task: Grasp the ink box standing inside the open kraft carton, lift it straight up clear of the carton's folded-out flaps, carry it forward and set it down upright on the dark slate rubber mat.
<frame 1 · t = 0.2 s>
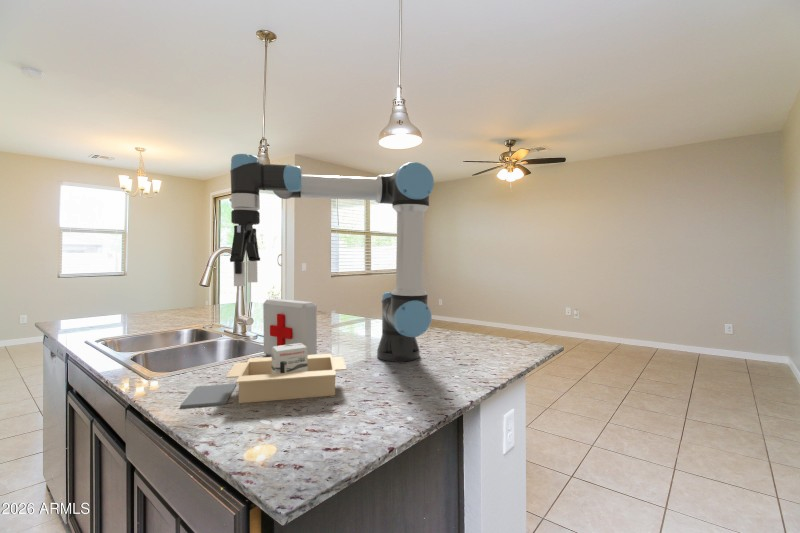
hand: (246, 284, 108), 28 cm above the worktop, fingers open, 13 cm apart
bevelled white case: (288, 358, 131), on the worktop
ink box: (289, 390, 101), resting in carton
mat: (210, 396, 96), on the worktop
carton: (289, 389, 101), on the worktop
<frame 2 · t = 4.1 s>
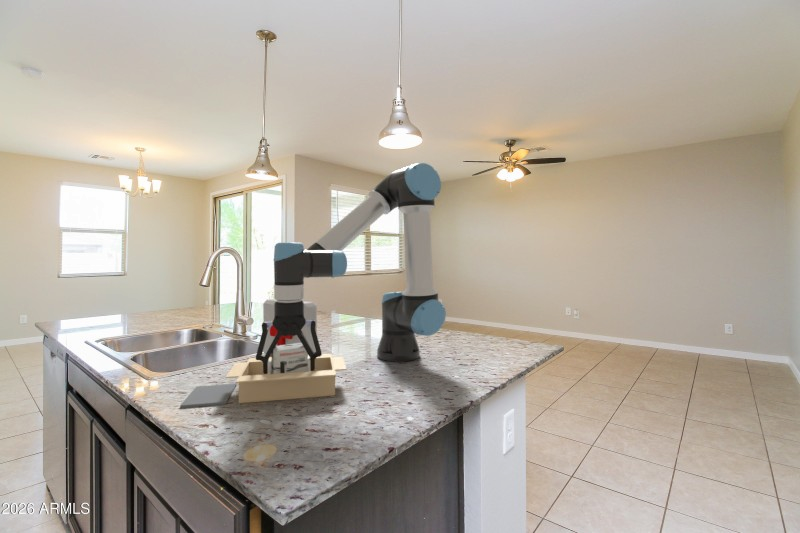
hand: (289, 383, 101), 2 cm above the worktop, fingers closed on ink box, 9 cm apart
ink box: (289, 390, 101), resting in carton, touching gripper
everything else where it was.
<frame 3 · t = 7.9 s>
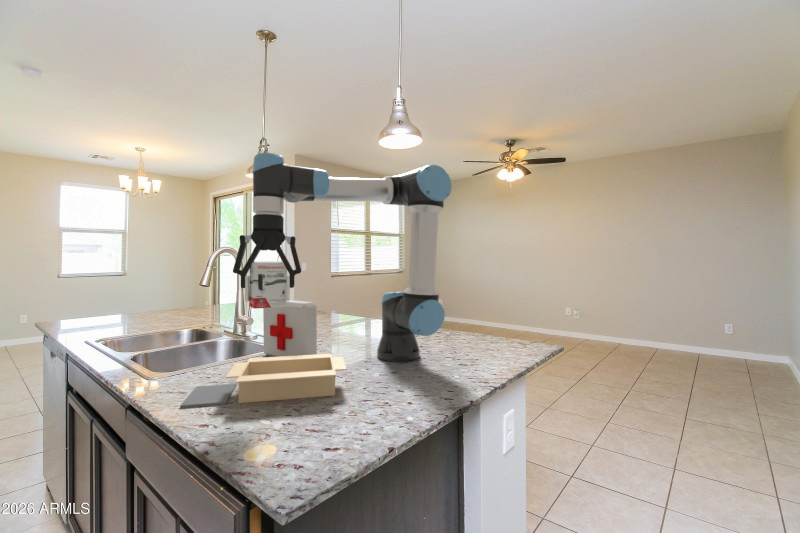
hand: (268, 300, 98), 24 cm above the worktop, fingers closed on ink box, 9 cm apart
ink box: (268, 307, 98), point 22 cm above the worktop, touching gripper
everything else where it was.
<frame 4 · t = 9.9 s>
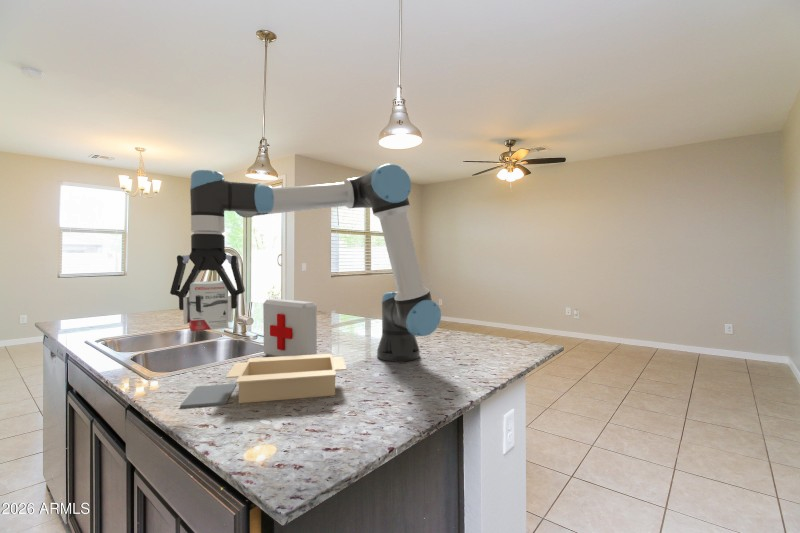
hand: (209, 322, 95), 19 cm above the worktop, fingers closed on ink box, 9 cm apart
ink box: (209, 329, 95), point 17 cm above the worktop, touching gripper
everything else where it was.
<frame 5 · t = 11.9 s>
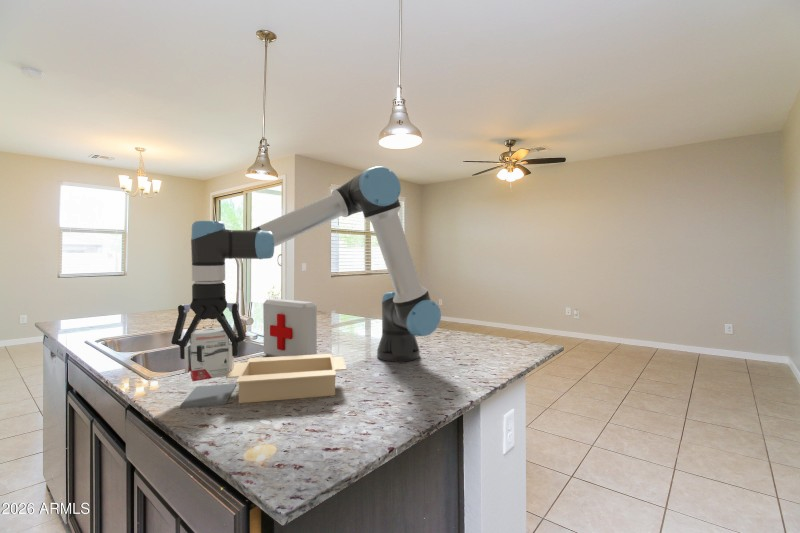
hand: (210, 369, 96), 7 cm above the worktop, fingers closed on ink box, 9 cm apart
ink box: (210, 376, 96), point 5 cm above the worktop, touching gripper
everything else where it was.
when the fingers open (7 cm above the worktop, at t = 13.0 s): ink box stays where it is, resting on mat.
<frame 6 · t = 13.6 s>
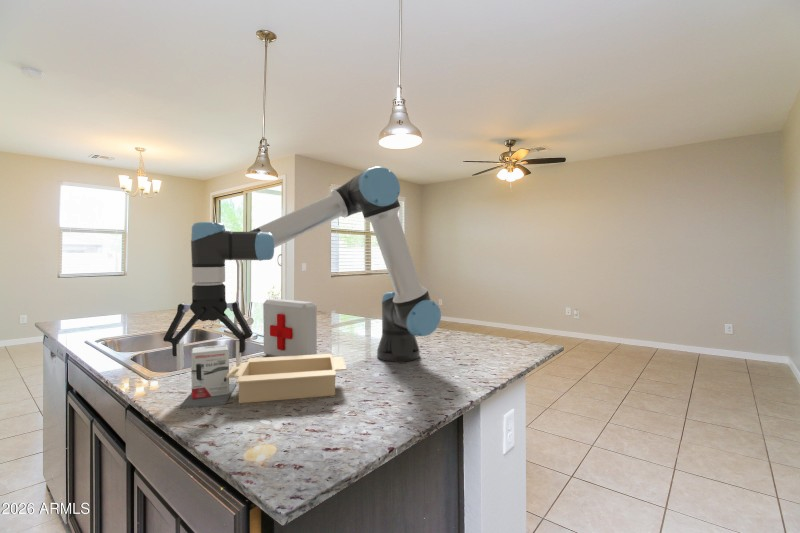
hand: (210, 366, 96), 8 cm above the worktop, fingers open, 13 cm apart
ink box: (210, 394, 96), resting on mat
everything else where it was.
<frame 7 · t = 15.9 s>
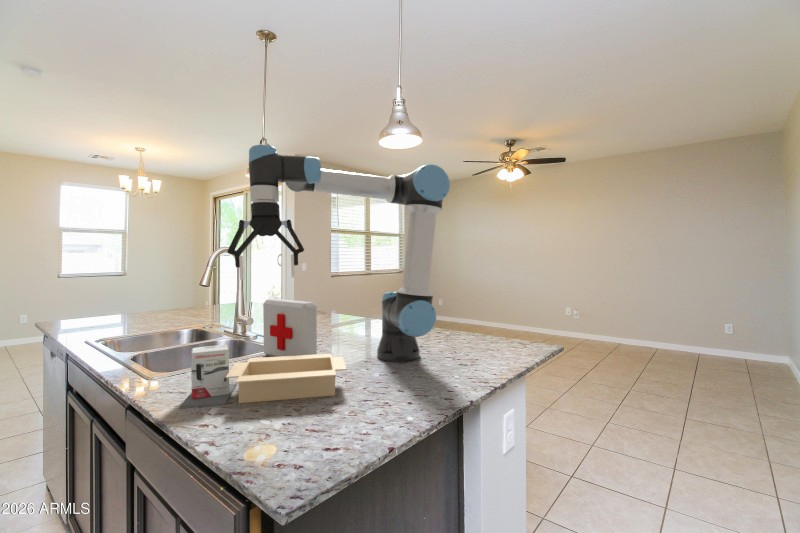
hand: (268, 278, 106), 29 cm above the worktop, fingers open, 13 cm apart
nothing on the worktop moved.
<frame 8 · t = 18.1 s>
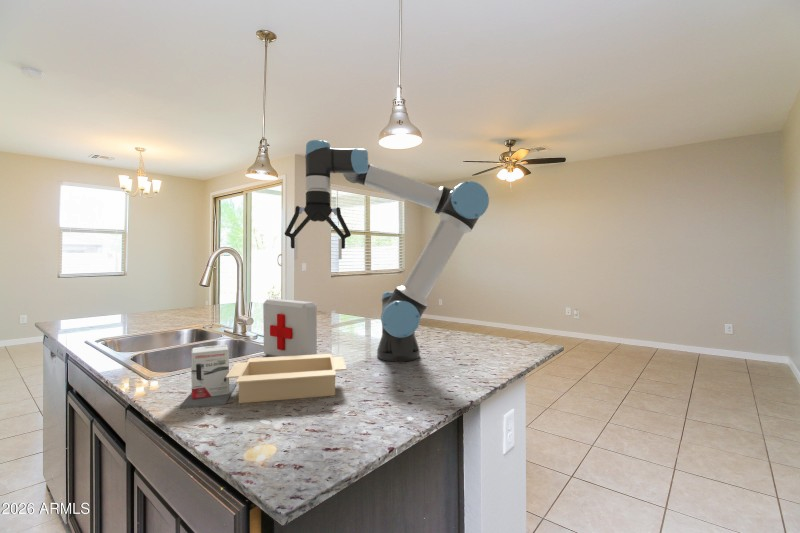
hand: (318, 259, 119), 35 cm above the worktop, fingers open, 13 cm apart
nothing on the worktop moved.
at the end: ink box inside the target area on the mat (0.1 cm from its centre), point 0.4 cm above the mat's base; ink box tilted 0°; the gripper is holding nothing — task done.
